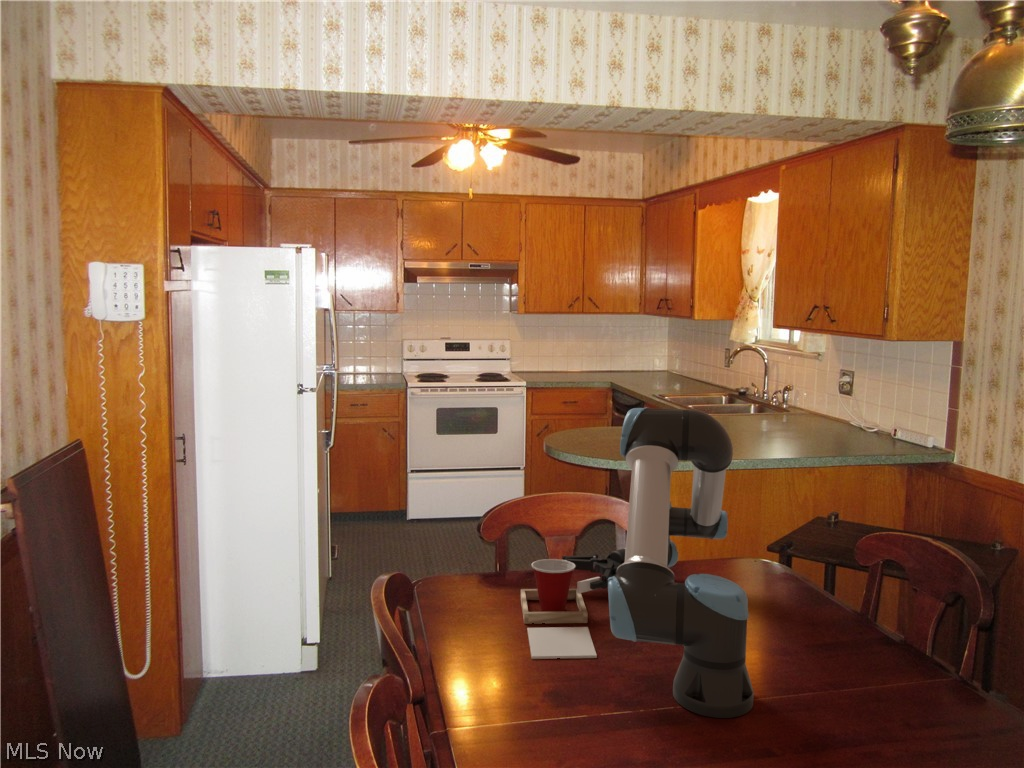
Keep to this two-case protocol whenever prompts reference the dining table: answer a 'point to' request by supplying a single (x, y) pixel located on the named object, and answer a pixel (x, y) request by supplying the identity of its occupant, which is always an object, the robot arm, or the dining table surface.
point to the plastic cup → (553, 583)
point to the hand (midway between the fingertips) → (561, 578)
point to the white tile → (560, 643)
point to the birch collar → (555, 616)
